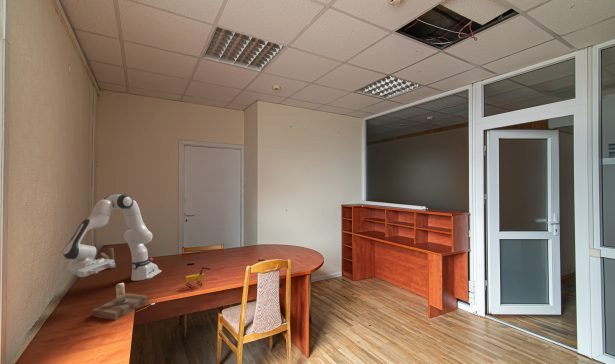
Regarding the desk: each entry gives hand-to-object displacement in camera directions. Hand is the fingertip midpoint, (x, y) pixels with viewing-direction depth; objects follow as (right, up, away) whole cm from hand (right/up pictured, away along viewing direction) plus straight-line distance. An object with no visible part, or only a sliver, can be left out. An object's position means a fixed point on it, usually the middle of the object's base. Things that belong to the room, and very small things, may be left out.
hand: (105, 268), depth 174 cm
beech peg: (+12, -23, -3) cm, 26 cm away
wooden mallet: (-50, -23, +73) cm, 91 cm away
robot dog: (+48, -21, +27) cm, 59 cm away
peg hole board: (+12, -24, -3) cm, 27 cm away
